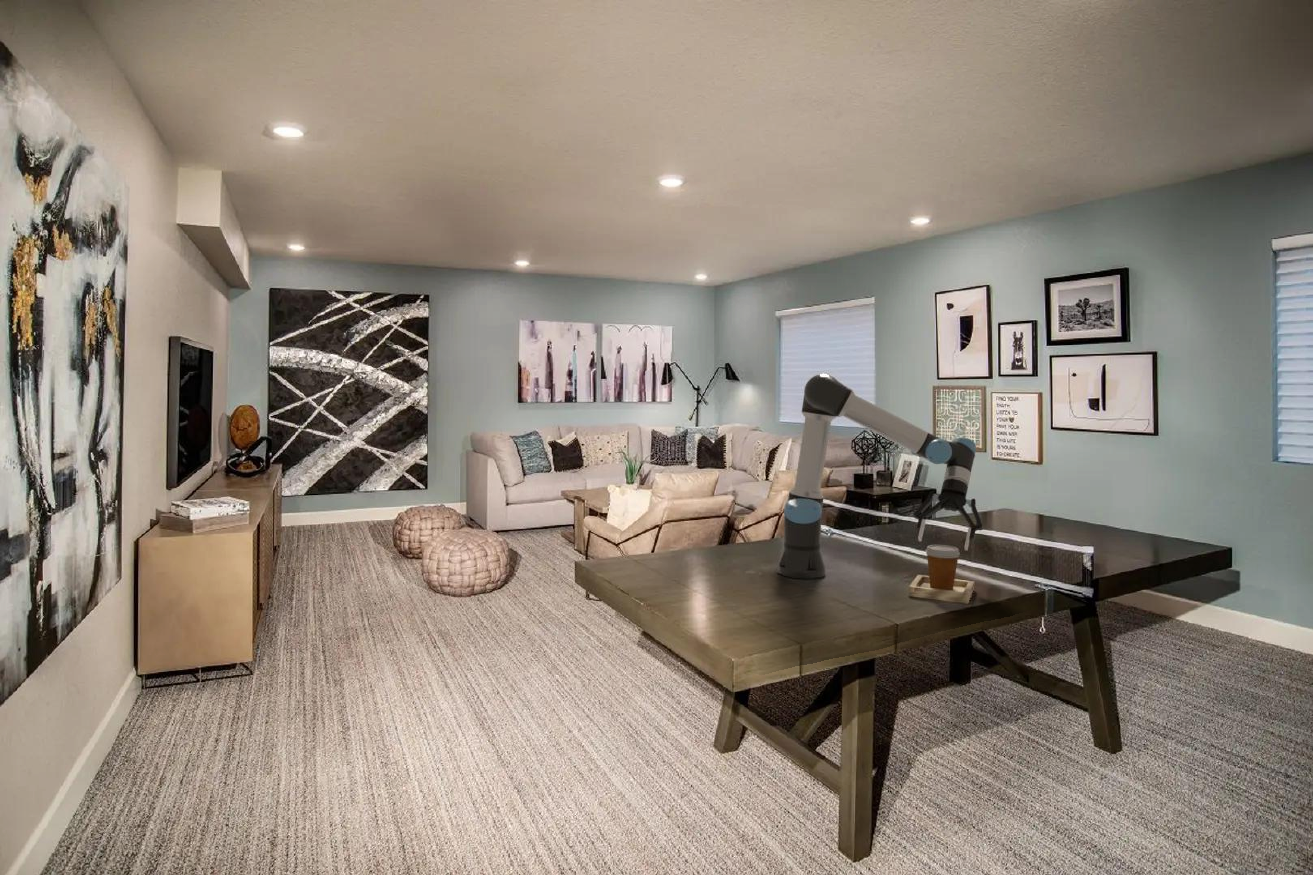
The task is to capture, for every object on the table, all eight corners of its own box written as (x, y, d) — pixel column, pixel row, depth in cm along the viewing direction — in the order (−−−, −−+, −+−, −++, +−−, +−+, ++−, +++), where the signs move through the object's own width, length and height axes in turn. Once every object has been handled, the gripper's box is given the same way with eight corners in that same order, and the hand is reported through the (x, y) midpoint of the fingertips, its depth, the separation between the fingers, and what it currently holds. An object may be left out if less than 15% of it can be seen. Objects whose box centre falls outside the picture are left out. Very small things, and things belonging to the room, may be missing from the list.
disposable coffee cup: (948, 594, 212) (949, 552, 211) (918, 587, 220) (919, 547, 219) (965, 588, 218) (966, 548, 217) (935, 581, 226) (936, 543, 225)
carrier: (908, 595, 215) (908, 586, 214) (917, 583, 229) (918, 574, 228) (968, 603, 207) (968, 594, 207) (974, 590, 221) (974, 581, 221)
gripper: (998, 495, 233) (986, 557, 225) (916, 482, 246) (902, 540, 237) (998, 484, 228) (985, 547, 219) (914, 471, 240) (899, 531, 232)
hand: (942, 544), depth 228 cm, fingers open, 13 cm apart
